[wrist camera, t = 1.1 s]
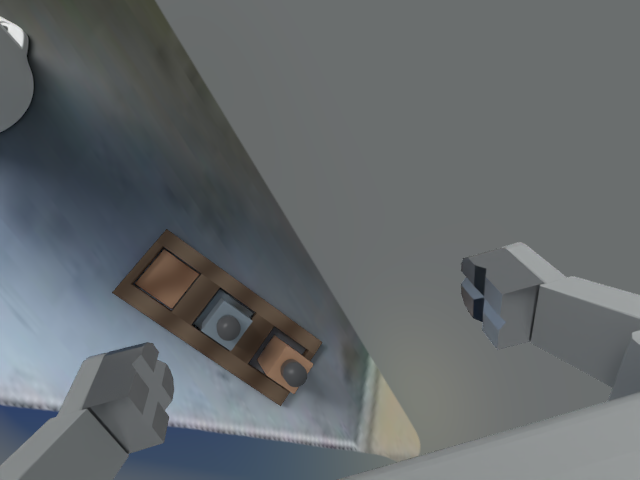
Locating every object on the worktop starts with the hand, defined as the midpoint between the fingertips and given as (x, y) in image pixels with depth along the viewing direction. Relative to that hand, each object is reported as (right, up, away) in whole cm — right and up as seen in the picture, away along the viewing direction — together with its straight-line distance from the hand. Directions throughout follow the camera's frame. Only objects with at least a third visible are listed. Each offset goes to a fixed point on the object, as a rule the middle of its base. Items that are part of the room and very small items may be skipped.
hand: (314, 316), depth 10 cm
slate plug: (-13, -9, +41) cm, 43 cm away
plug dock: (-13, -9, +41) cm, 44 cm away
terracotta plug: (-6, -14, +42) cm, 45 cm away
